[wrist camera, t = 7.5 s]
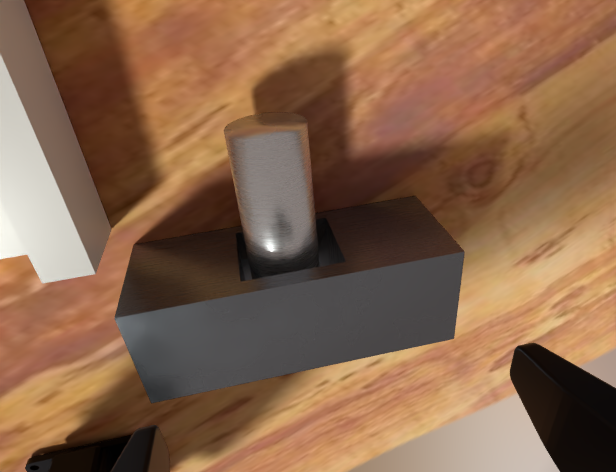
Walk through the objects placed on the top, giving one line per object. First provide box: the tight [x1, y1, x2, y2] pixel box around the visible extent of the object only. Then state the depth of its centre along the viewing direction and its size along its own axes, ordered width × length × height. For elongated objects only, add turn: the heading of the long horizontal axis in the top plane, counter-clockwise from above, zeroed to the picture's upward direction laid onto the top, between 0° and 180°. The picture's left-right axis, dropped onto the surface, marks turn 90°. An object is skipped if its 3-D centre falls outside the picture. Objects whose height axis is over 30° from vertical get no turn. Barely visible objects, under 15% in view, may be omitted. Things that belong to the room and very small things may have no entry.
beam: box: [115, 196, 464, 403], centre depth 21 cm, size 5×14×5 cm, turn 95°
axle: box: [224, 112, 320, 279], centre depth 20 cm, size 12×3×3 cm, turn 5°
